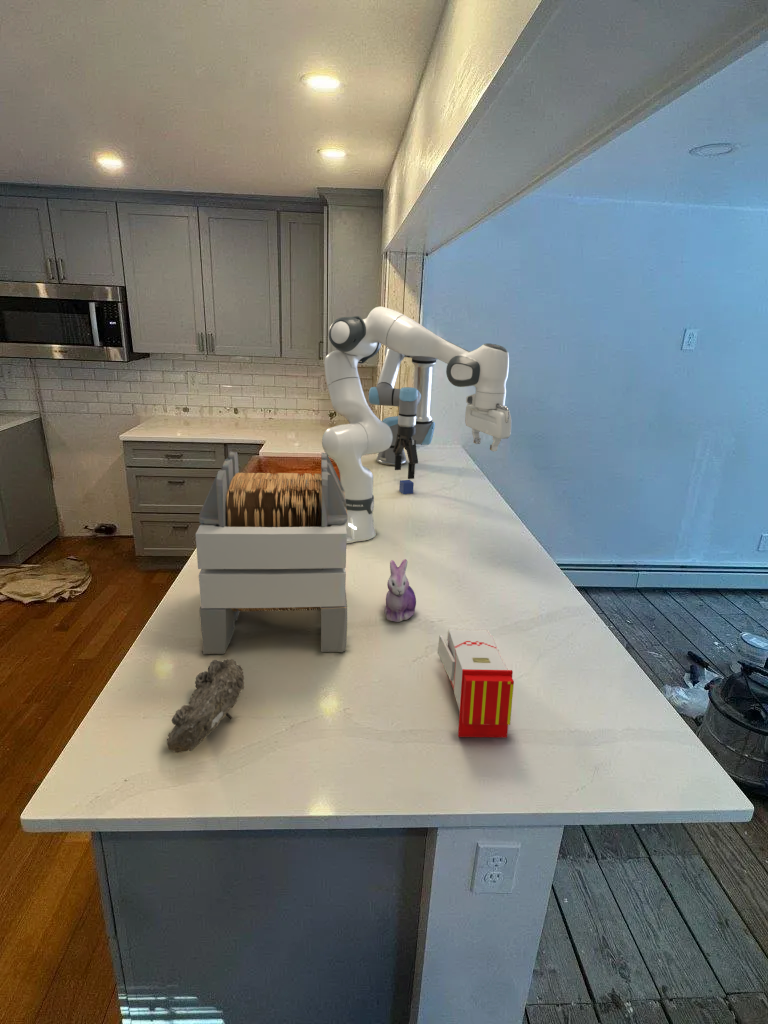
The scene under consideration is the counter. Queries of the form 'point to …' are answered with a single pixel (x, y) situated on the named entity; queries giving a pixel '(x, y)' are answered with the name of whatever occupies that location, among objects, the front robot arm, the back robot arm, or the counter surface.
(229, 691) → the fossil
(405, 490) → the brick
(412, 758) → the counter surface
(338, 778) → the counter surface
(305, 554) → the transformer
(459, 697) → the toy
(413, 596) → the figurine
